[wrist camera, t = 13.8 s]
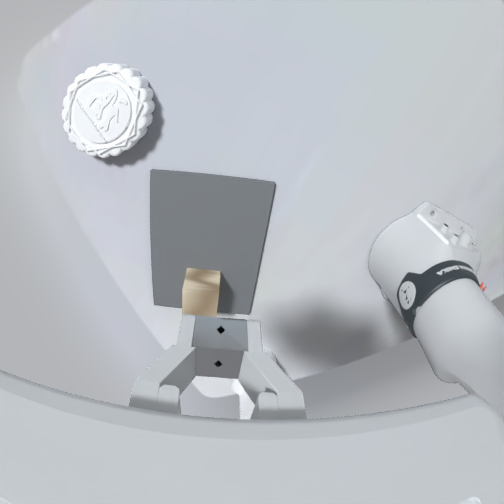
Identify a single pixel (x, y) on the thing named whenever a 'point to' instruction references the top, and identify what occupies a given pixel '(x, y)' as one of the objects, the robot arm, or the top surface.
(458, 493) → the robot arm
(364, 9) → the top surface
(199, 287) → the maple block
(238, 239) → the rubber mat
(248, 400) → the white cylinder with post
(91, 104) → the white mooncake
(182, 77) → the top surface
